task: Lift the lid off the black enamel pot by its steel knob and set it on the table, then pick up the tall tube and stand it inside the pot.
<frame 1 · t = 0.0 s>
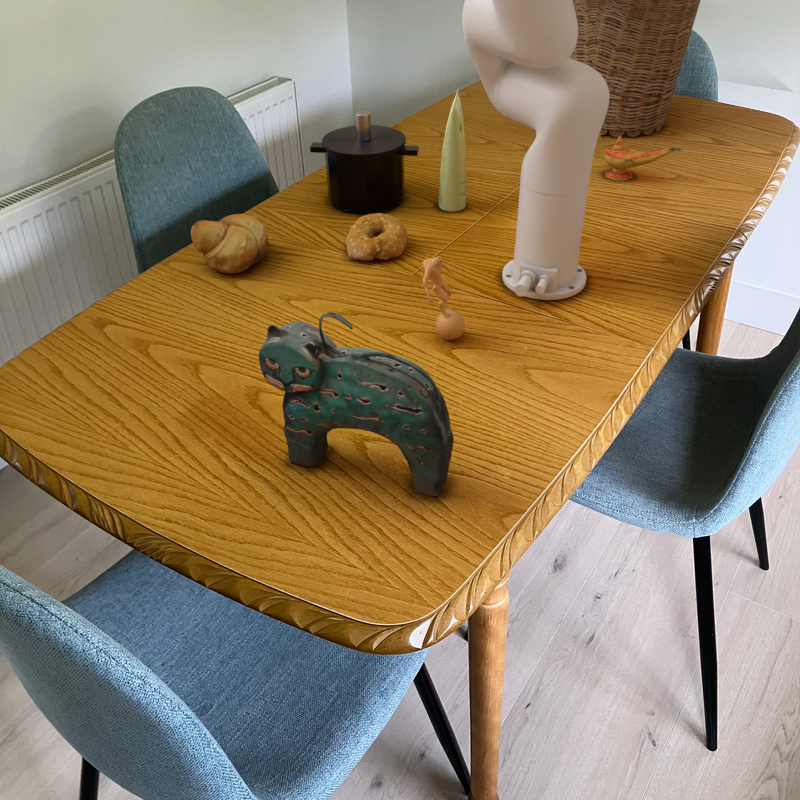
figurine: (443, 337, 106), on the table
bagel: (376, 250, 126), on the table
pot: (366, 198, 142), on the table
magic lamp: (627, 177, 148), on the table
ceramic cat: (364, 469, 85), on the table
wicker basket: (614, 122, 173), on the table
bread roll: (241, 261, 124), on the table
pot lid: (364, 142, 136), point 10 cm above the table, touching pot
tube: (451, 208, 139), on the table
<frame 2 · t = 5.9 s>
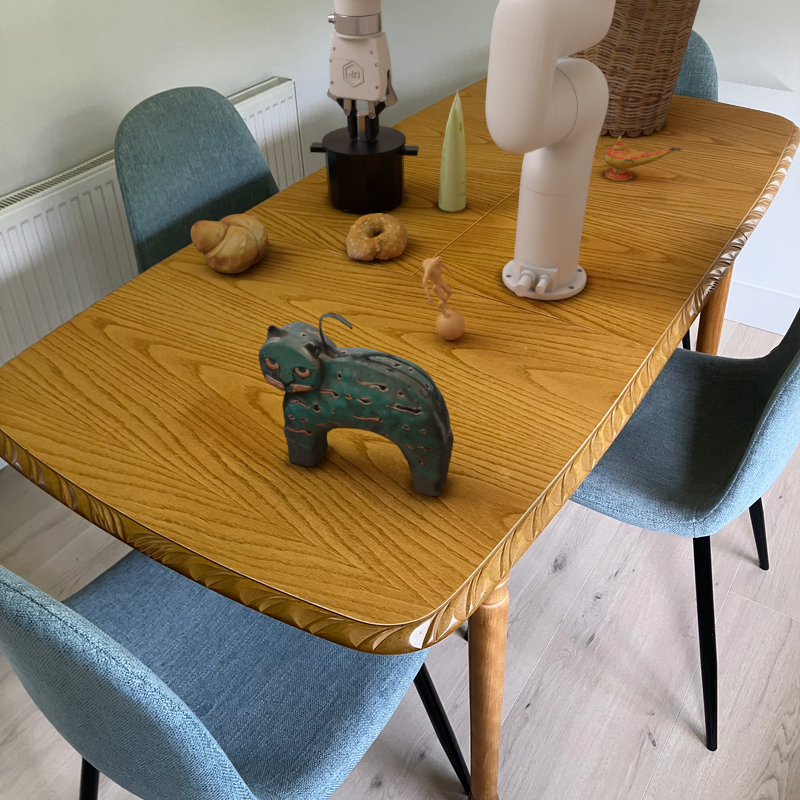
hand: (363, 136, 135), 11 cm above the table, tool pointing down, fingers closed on pot lid, 2 cm apart
pot lid: (364, 142, 136), point 11 cm above the table, touching gripper, pot
everything else where it was.
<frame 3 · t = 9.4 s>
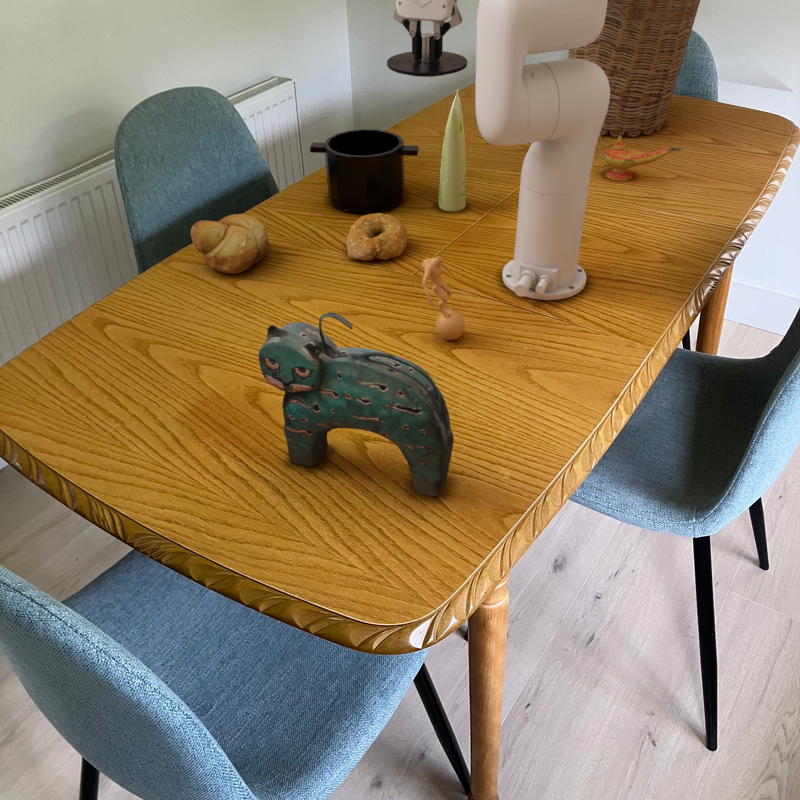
hand: (427, 58, 141), 20 cm above the table, tool pointing down, fingers closed on pot lid, 2 cm apart
pot lid: (427, 64, 142), point 19 cm above the table, touching gripper
everything else where it was.
when the fingers open (2 cm above the table, at t = 13.0 s): pot lid stays where it is, point 1 cm above the table.
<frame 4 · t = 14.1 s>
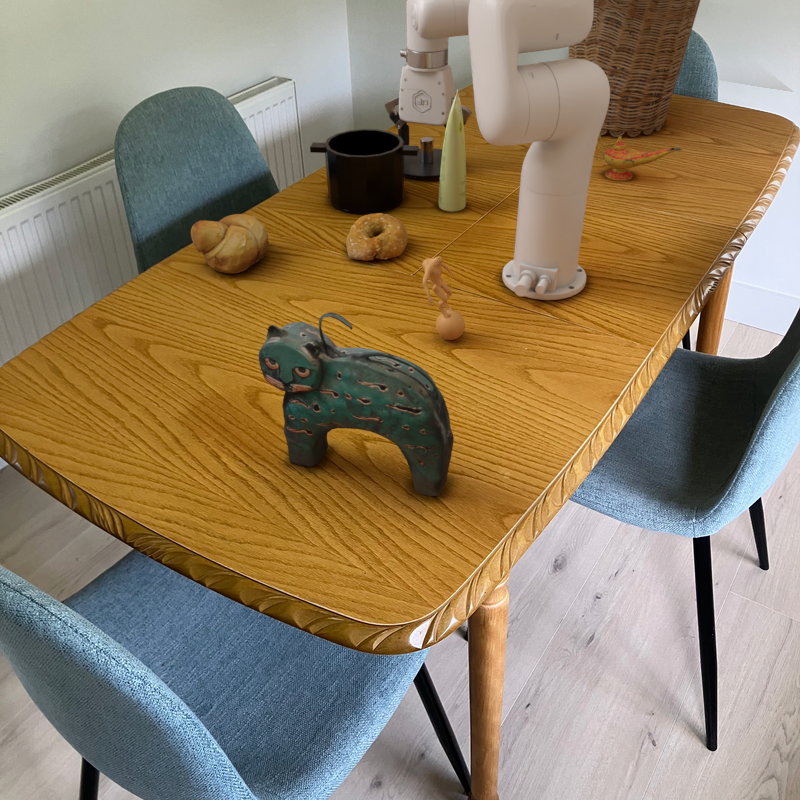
hand: (427, 150, 151), 4 cm above the table, tool pointing down, fingers open, 9 cm apart
pot lid: (426, 164, 153), point 1 cm above the table
everything else where it was.
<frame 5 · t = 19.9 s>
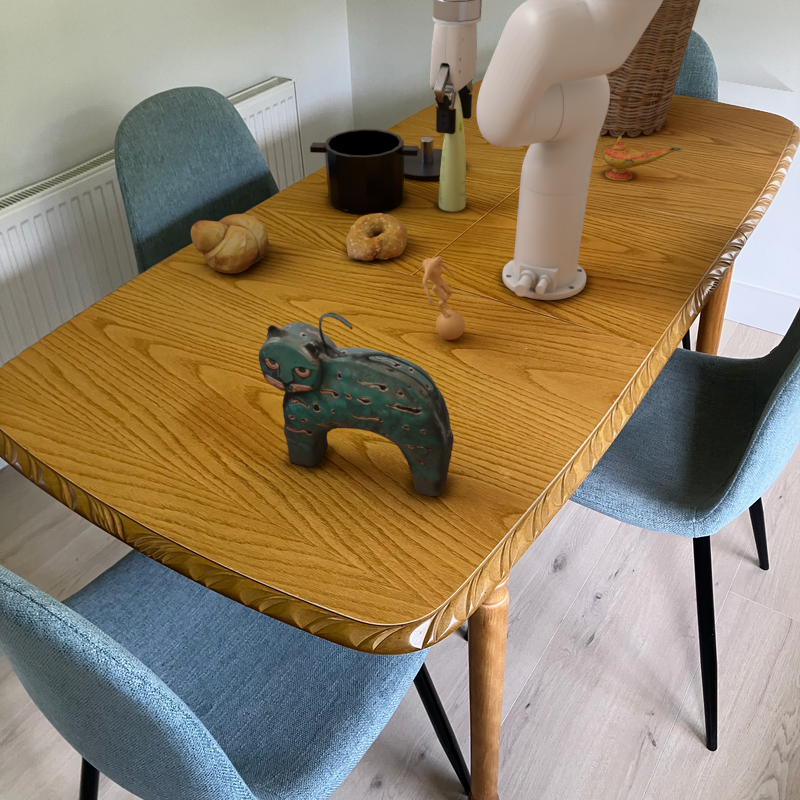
hand: (453, 124, 129), 15 cm above the table, tool pointing down, fingers closed on tube, 7 cm apart
tube: (451, 208, 139), on the table, touching gripper
everything else where it was.
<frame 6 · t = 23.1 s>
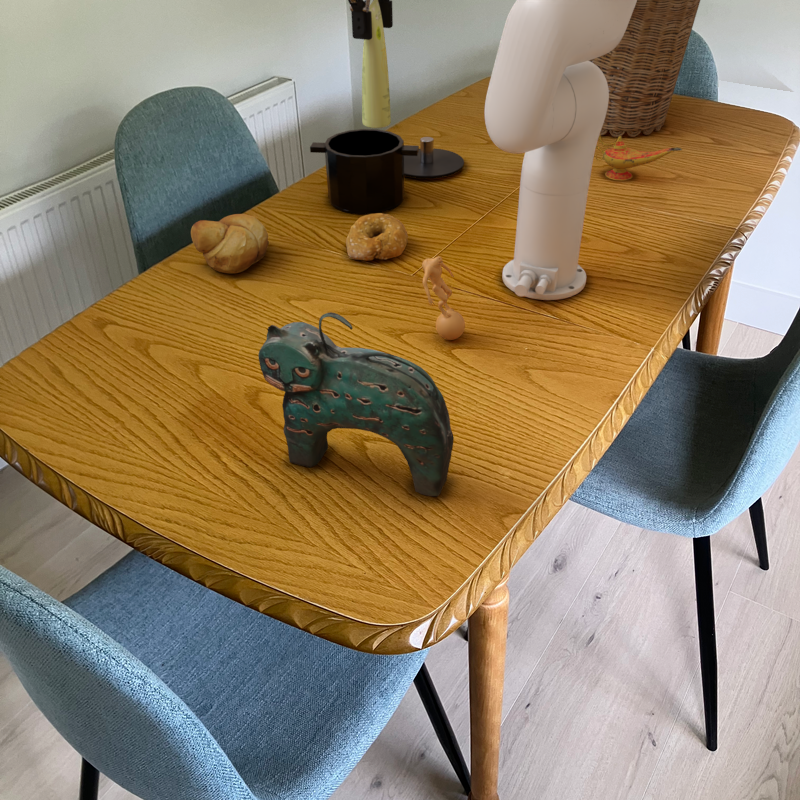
hand: (373, 32, 124), 29 cm above the table, tool pointing down, fingers closed on tube, 7 cm apart
tube: (376, 125, 133), point 14 cm above the table, touching gripper
everything else where it was.
when the fingers open (15 cm above the table, at t = 26.8 s): tube stays where it is, resting on pot.
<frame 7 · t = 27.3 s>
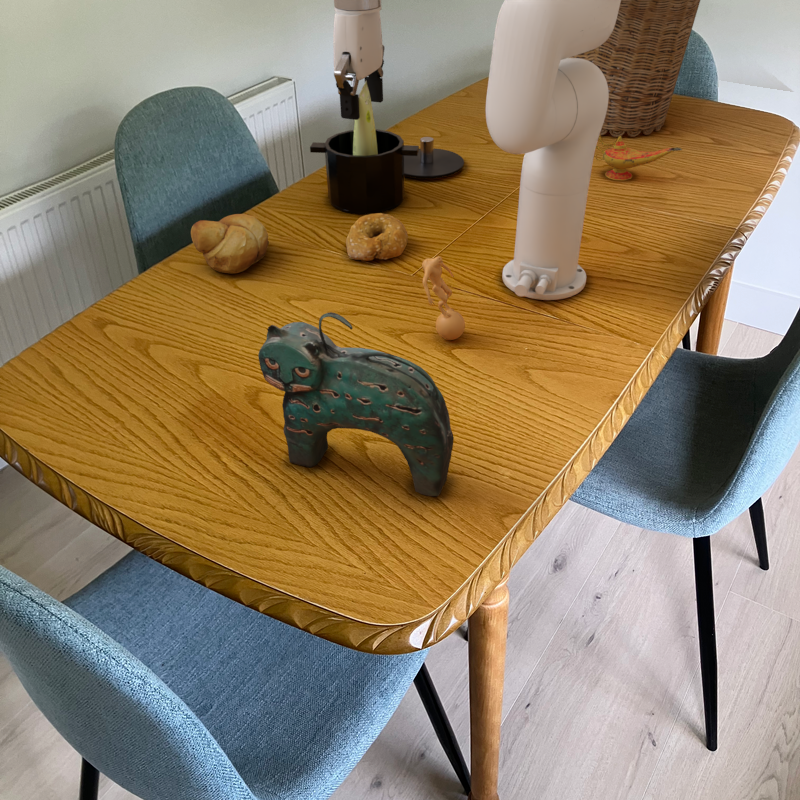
hand: (362, 109, 132), 16 cm above the table, tool pointing down, fingers open, 9 cm apart
tube: (366, 197, 142), resting on pot
everything else where it was.
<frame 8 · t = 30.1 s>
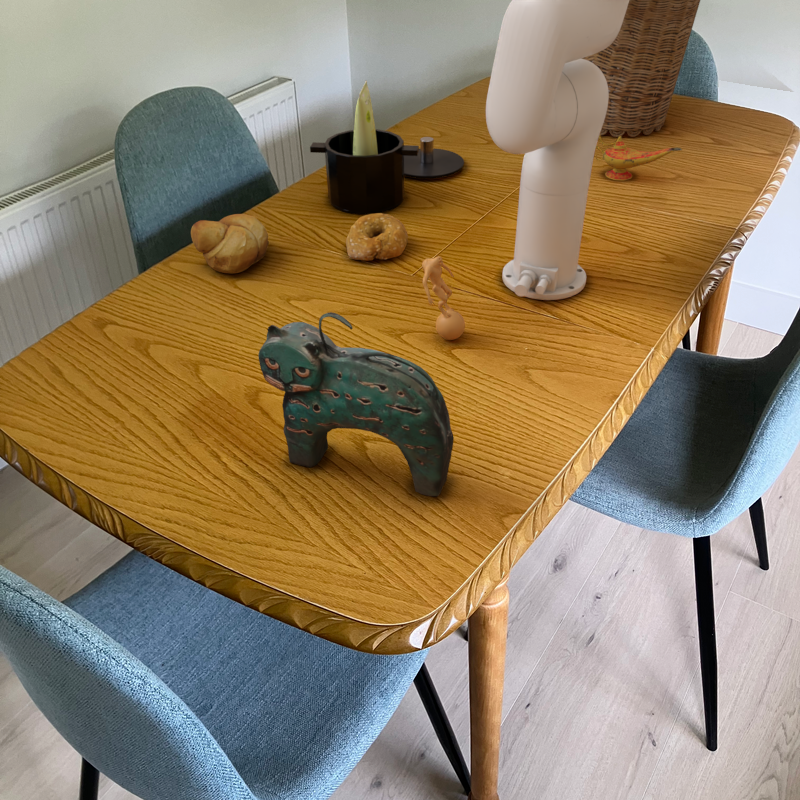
nothing on the table moved.
at the end: pot lid inside the target area (0.0 cm from its centre), point 0.6 cm above the table; tube inside the target area in the pot (0.1 cm from its centre), point 0.3 cm above the pot's base; tube tilted 0° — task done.
